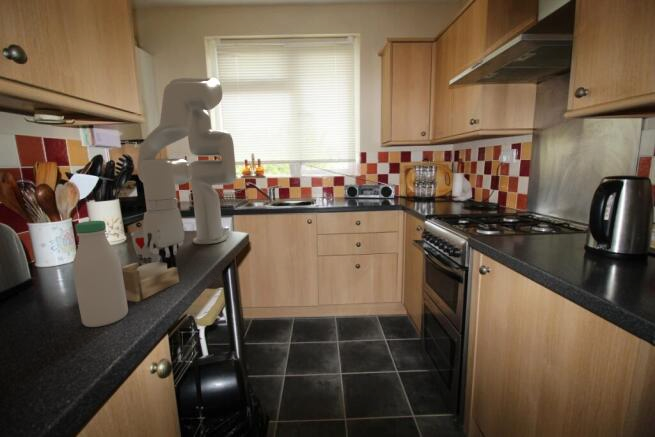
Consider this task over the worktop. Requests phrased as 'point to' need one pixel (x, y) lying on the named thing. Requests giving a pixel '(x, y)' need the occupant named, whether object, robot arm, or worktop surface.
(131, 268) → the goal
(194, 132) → the robot arm
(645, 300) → the worktop surface
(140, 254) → the cup
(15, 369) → the worktop surface
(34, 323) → the worktop surface
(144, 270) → the cream egg shape
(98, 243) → the milk bottle
